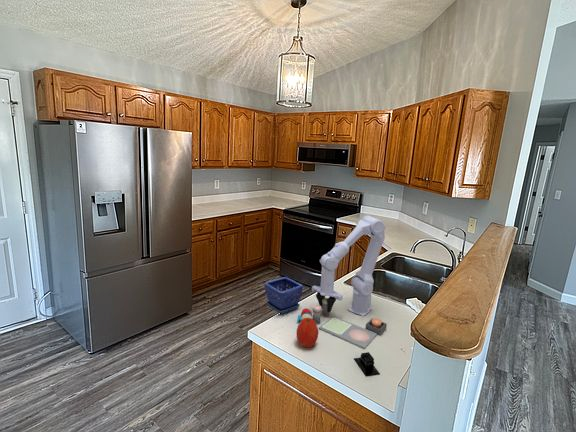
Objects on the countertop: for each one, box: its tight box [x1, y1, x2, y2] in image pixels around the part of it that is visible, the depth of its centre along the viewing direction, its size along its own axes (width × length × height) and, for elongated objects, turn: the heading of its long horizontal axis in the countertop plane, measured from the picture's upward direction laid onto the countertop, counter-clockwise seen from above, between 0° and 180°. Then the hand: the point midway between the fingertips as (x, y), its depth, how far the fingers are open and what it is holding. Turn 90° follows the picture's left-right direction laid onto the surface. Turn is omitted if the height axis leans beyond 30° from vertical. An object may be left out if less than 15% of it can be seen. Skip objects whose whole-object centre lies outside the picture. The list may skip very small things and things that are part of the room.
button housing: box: [364, 317, 388, 337], centre depth 127 cm, size 6×6×2 cm
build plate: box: [353, 351, 381, 378], centre depth 105 cm, size 12×7×5 cm, turn 14°
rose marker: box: [312, 304, 322, 325], centre depth 130 cm, size 4×4×7 cm
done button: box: [371, 317, 383, 328], centre depth 127 cm, size 4×4×2 cm
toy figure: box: [296, 307, 313, 324], centre depth 128 cm, size 8×5×15 cm
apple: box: [296, 318, 319, 348], centre depth 115 cm, size 8×8×11 cm
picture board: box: [318, 316, 378, 350], centre depth 125 cm, size 12×20×1 cm, turn 52°
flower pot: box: [264, 276, 304, 315], centre depth 141 cm, size 13×13×12 cm
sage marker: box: [321, 297, 330, 317], centre depth 136 cm, size 4×4×7 cm
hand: (325, 310), depth 137 cm, fingers closed on sage marker, 3 cm apart
